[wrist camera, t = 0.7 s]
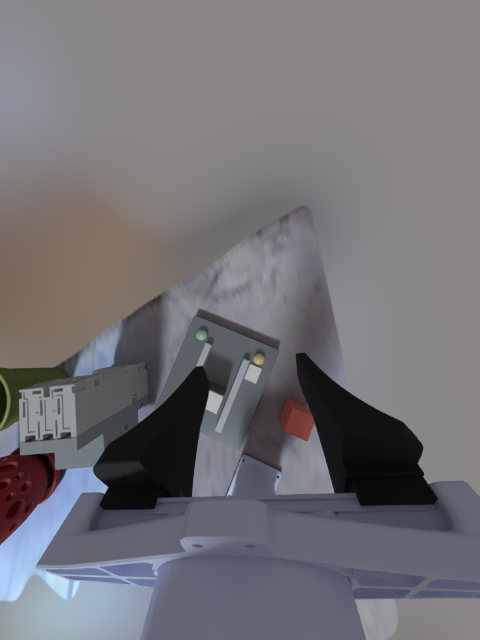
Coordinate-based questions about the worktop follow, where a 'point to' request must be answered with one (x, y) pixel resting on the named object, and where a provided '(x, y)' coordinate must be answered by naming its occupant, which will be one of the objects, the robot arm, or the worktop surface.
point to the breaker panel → (224, 376)
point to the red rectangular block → (297, 419)
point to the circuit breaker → (81, 414)
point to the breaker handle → (215, 397)
